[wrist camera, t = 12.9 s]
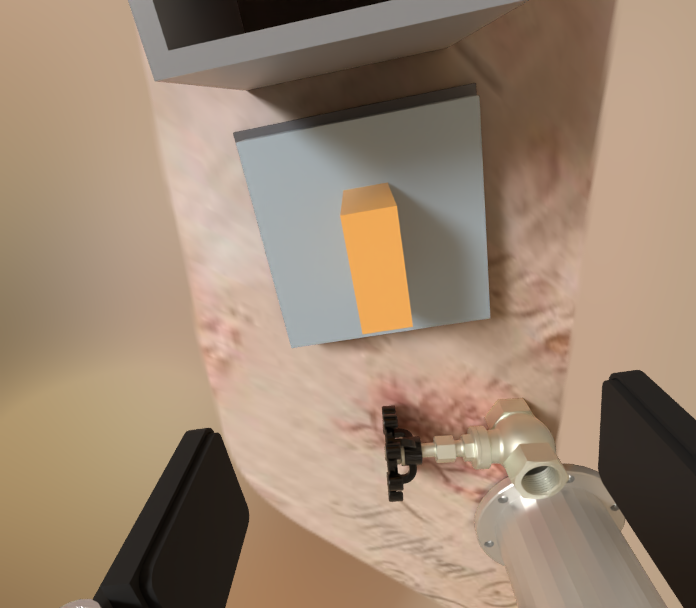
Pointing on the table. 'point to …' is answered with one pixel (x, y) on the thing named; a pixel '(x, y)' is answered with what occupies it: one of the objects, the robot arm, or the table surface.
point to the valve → (483, 450)
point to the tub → (296, 38)
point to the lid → (374, 221)
